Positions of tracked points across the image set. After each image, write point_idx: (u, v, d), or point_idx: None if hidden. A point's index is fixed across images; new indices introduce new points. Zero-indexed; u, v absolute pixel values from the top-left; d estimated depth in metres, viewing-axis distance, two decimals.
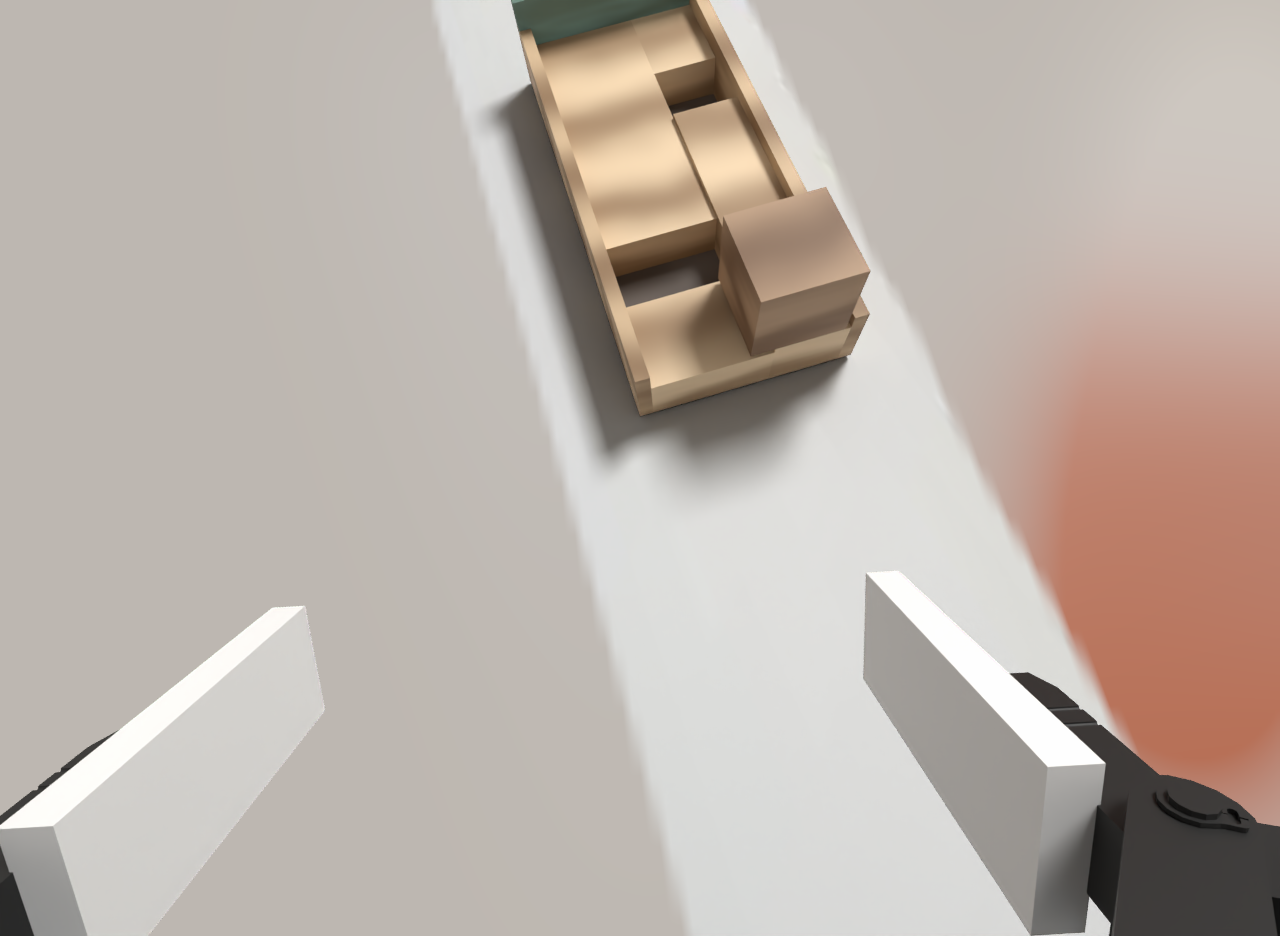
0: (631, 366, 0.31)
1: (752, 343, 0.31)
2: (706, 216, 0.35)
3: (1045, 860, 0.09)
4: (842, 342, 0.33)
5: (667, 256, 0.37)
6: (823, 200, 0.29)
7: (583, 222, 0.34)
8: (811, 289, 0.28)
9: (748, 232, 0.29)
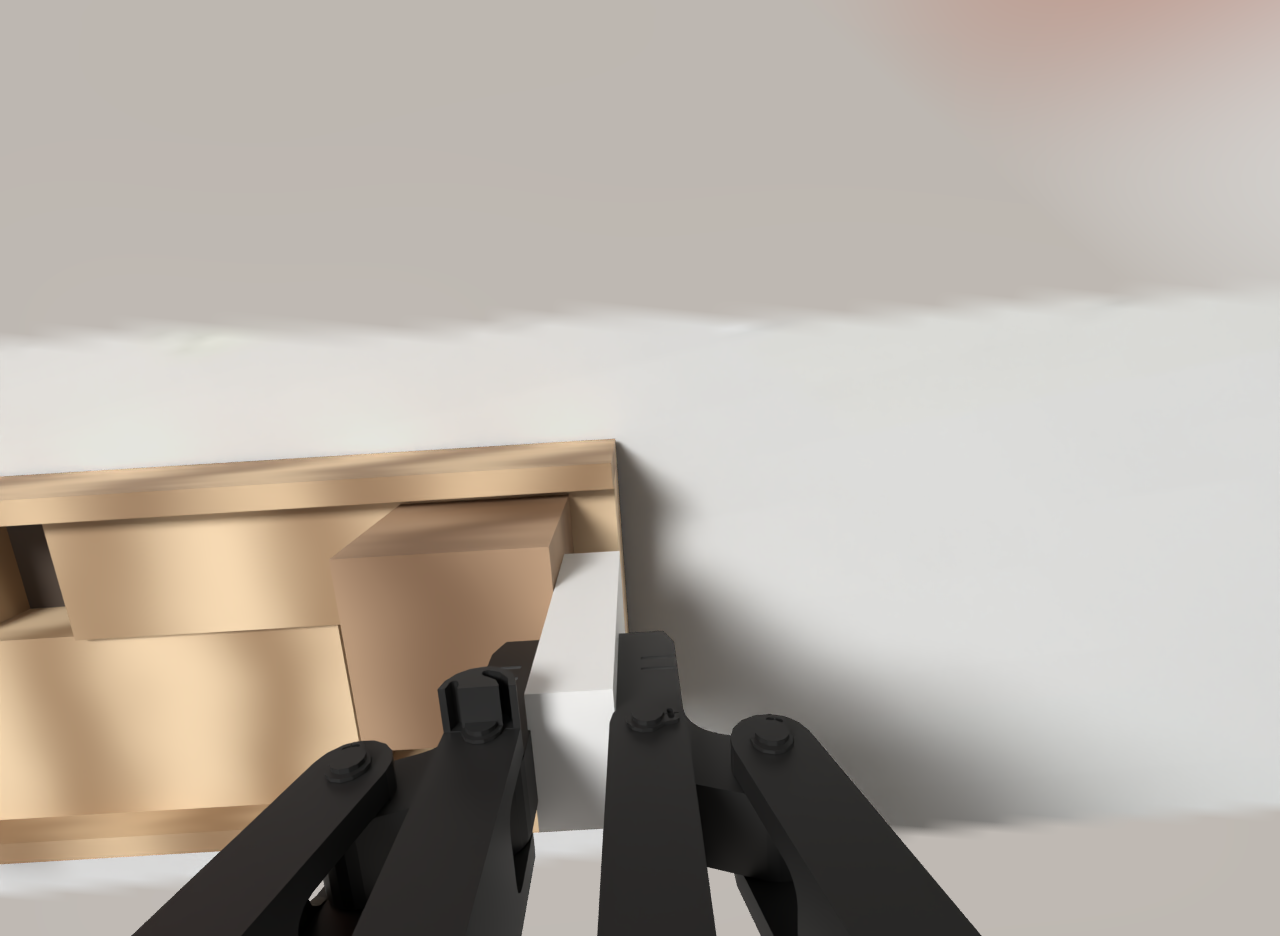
0: None
1: None
2: (329, 635, 0.20)
3: (582, 768, 0.11)
4: (615, 475, 0.20)
5: None
6: (362, 574, 0.14)
7: None
8: None
9: (411, 721, 0.15)
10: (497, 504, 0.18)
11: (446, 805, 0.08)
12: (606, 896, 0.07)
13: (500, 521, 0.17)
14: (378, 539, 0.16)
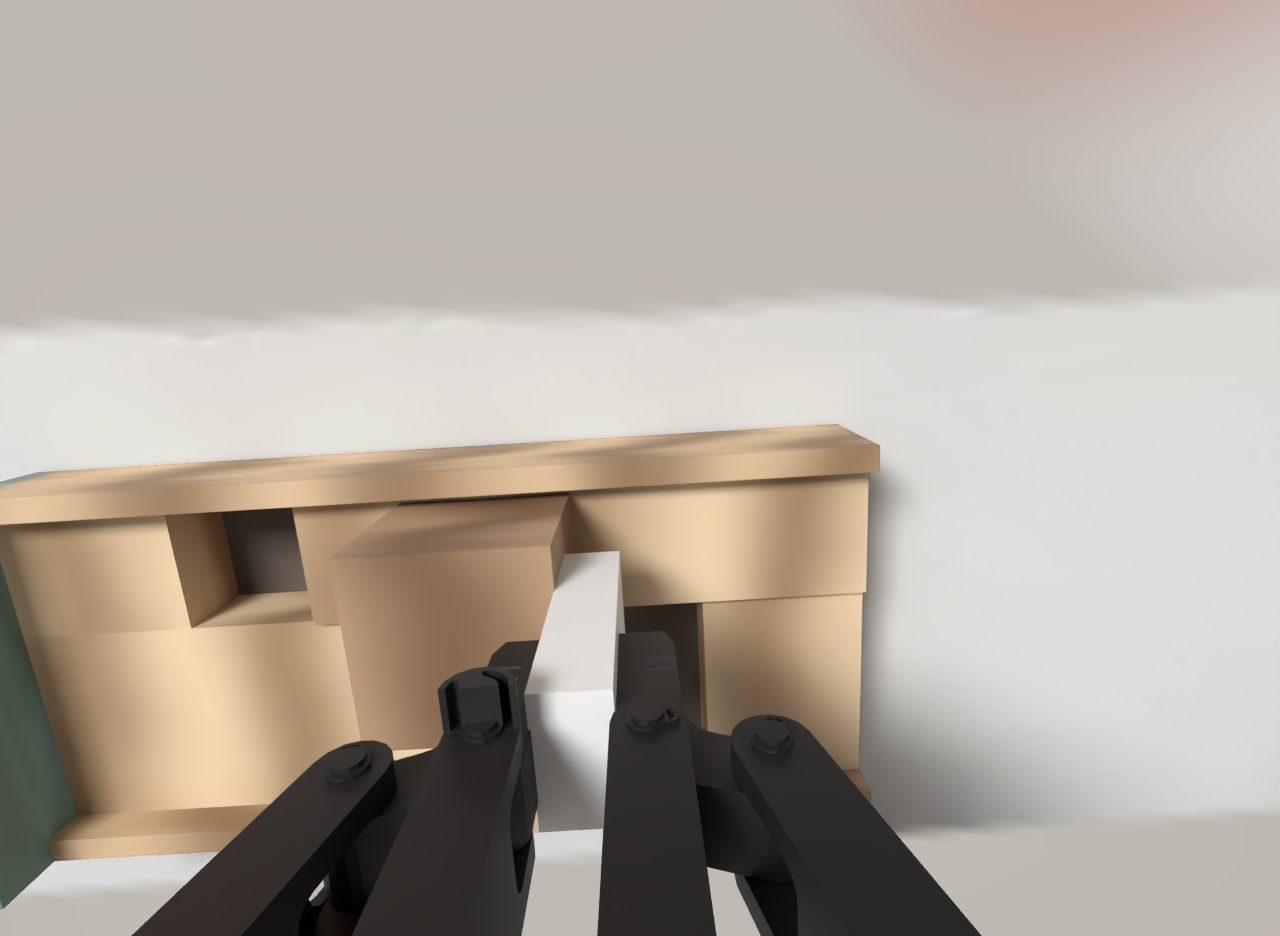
0: None
1: None
2: None
3: (582, 768, 0.11)
4: None
5: None
6: (362, 574, 0.14)
7: None
8: None
9: (411, 721, 0.15)
10: (497, 503, 0.18)
11: (447, 805, 0.08)
12: (606, 896, 0.07)
13: (501, 520, 0.16)
14: (378, 538, 0.16)
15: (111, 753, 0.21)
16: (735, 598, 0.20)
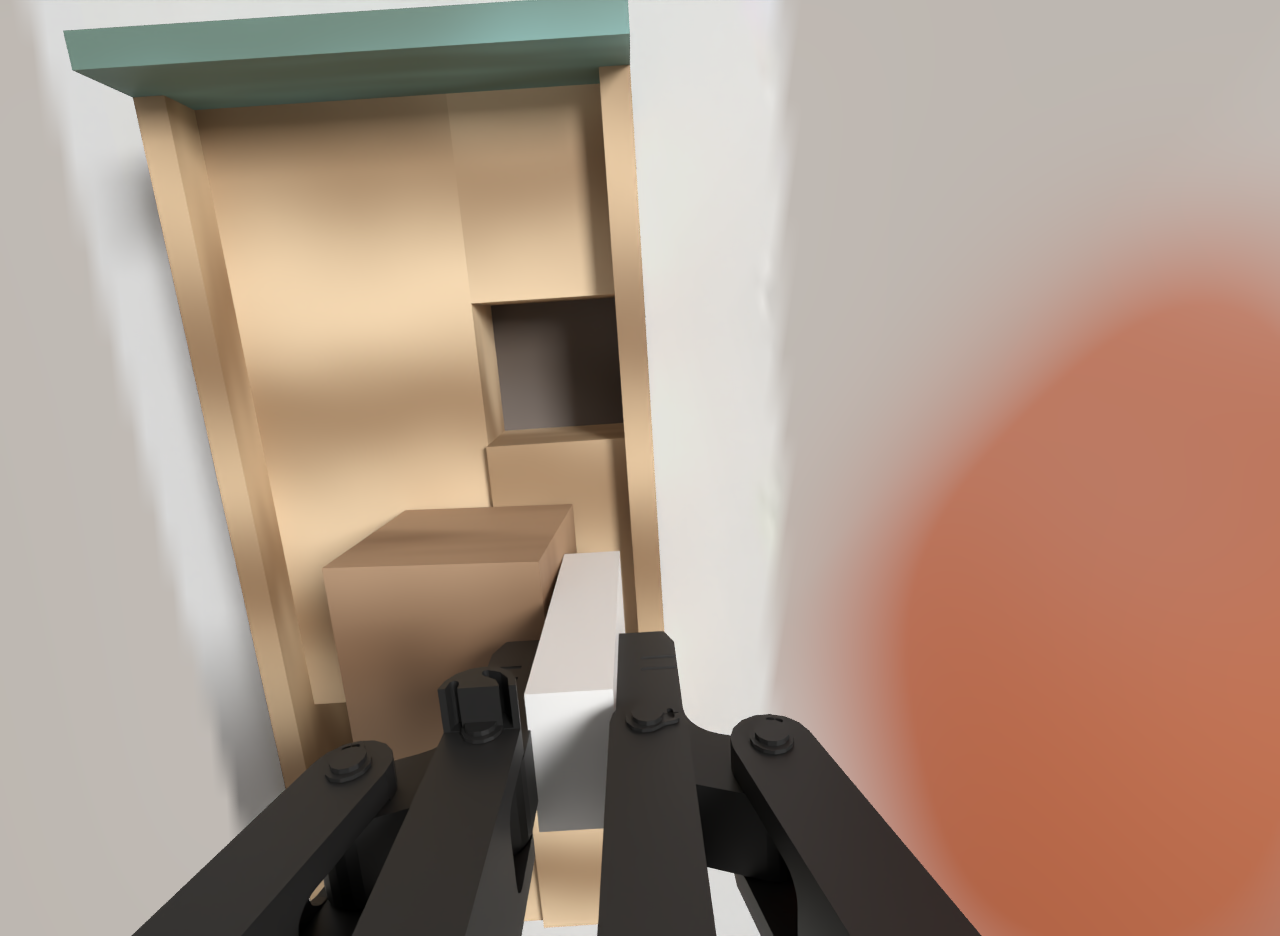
0: None
1: None
2: None
3: (582, 768, 0.11)
4: None
5: None
6: (523, 591, 0.14)
7: (266, 691, 0.19)
8: None
9: (363, 619, 0.15)
10: None
11: (446, 805, 0.08)
12: (606, 896, 0.07)
13: None
14: (552, 566, 0.15)
15: (294, 175, 0.17)
16: (533, 829, 0.21)
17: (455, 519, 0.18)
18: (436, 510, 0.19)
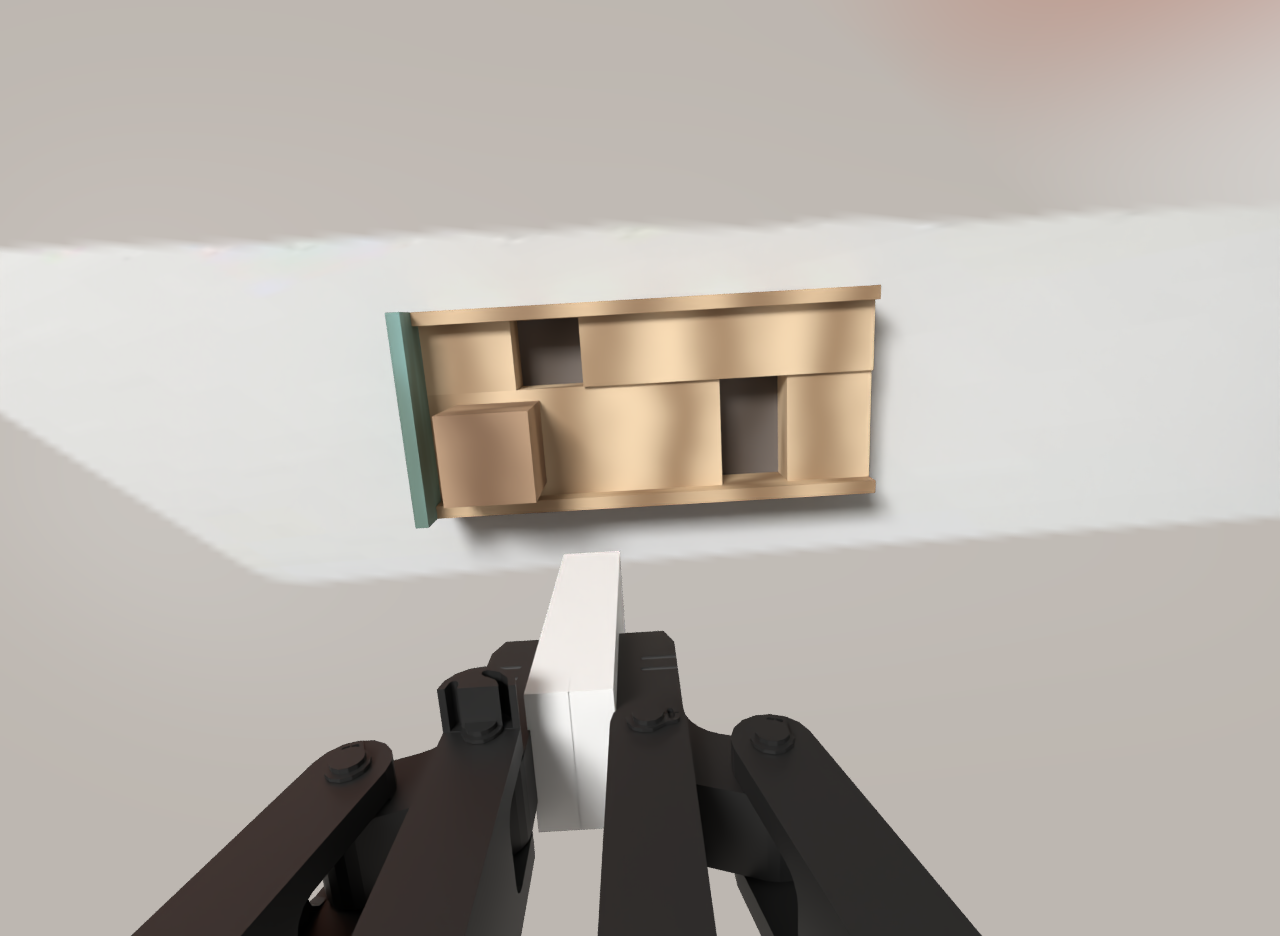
0: (860, 492, 0.38)
1: (543, 486, 0.38)
2: (714, 387, 0.38)
3: (582, 768, 0.11)
4: None
5: None
6: (446, 423, 0.33)
7: (705, 501, 0.38)
8: (532, 460, 0.34)
9: (466, 493, 0.34)
10: (503, 403, 0.37)
11: (446, 805, 0.08)
12: (607, 896, 0.07)
13: (506, 407, 0.35)
14: (450, 412, 0.34)
15: None
16: (804, 373, 0.37)
17: None
18: None
